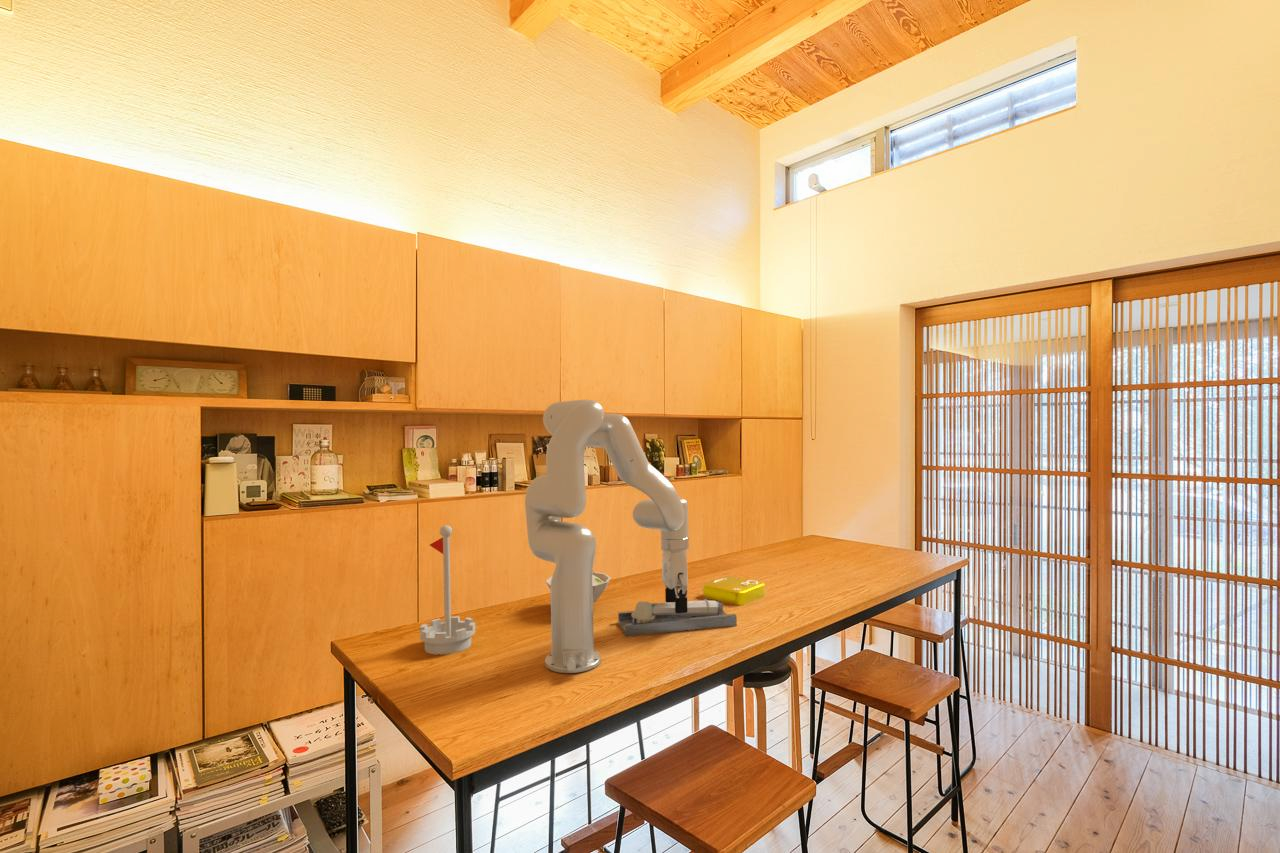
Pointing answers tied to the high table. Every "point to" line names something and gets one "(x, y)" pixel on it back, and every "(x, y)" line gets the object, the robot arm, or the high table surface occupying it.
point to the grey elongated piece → (673, 610)
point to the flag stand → (446, 613)
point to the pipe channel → (674, 623)
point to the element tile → (734, 590)
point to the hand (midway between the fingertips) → (676, 607)
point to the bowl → (594, 584)
